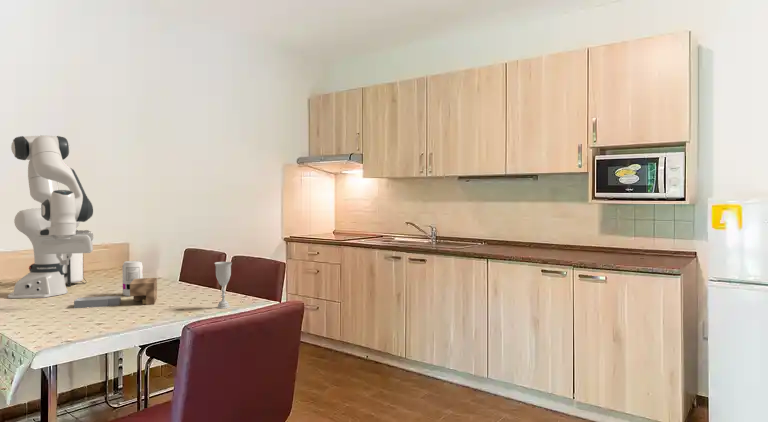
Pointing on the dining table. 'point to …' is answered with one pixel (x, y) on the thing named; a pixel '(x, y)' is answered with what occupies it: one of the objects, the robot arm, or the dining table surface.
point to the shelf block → (144, 290)
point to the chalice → (223, 280)
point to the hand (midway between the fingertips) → (64, 264)
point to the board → (97, 301)
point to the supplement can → (131, 274)
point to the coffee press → (74, 268)
